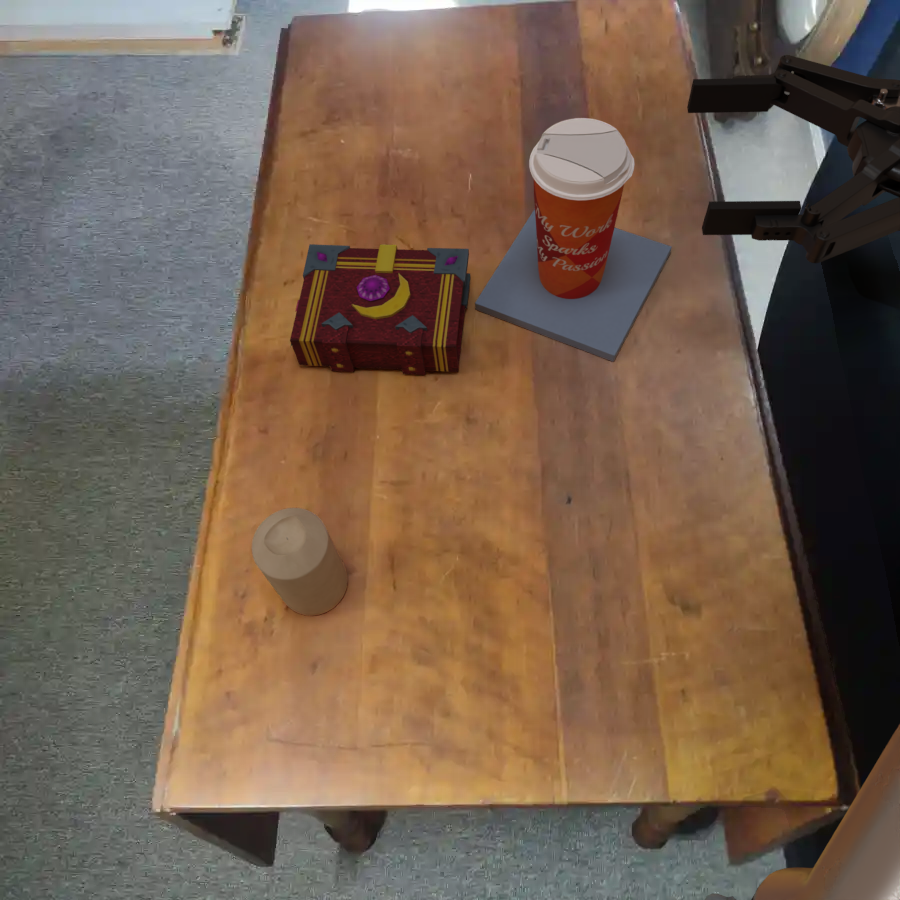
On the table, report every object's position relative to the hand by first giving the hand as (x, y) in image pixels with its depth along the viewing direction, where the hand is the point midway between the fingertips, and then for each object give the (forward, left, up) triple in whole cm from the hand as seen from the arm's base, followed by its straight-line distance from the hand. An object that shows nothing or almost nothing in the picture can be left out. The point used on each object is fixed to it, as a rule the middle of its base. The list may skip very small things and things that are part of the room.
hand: (697, 154), depth 67 cm
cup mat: (-4, +8, -15) cm, 18 cm away
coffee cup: (-4, +8, -14) cm, 17 cm away
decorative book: (-16, +22, -15) cm, 31 cm away
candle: (-41, +14, -15) cm, 46 cm away
